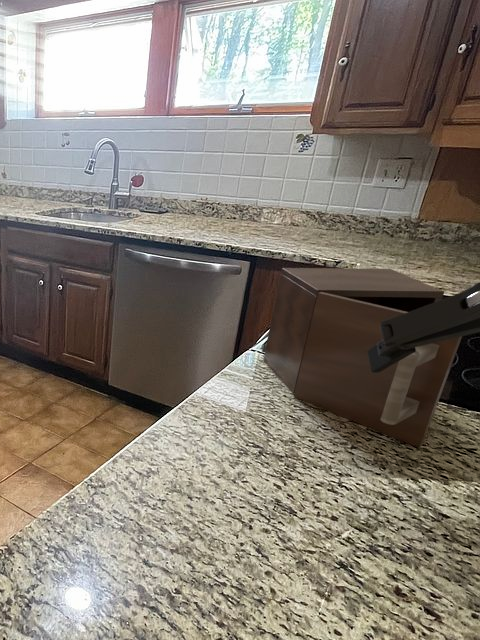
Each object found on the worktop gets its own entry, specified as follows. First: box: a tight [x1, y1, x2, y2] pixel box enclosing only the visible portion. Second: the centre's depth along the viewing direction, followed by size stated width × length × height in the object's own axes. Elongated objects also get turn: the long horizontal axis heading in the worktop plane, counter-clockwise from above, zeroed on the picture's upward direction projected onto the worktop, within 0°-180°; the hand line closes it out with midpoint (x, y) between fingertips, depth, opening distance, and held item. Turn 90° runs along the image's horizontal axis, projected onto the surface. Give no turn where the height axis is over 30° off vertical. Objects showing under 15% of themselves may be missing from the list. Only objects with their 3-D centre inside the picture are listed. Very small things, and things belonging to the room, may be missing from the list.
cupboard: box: [262, 267, 445, 395], centre depth 89 cm, size 14×18×18 cm
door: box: [293, 292, 463, 448], centre depth 74 cm, size 7×18×18 cm, turn 31°
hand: (436, 362), depth 60 cm, fingers open, 13 cm apart
